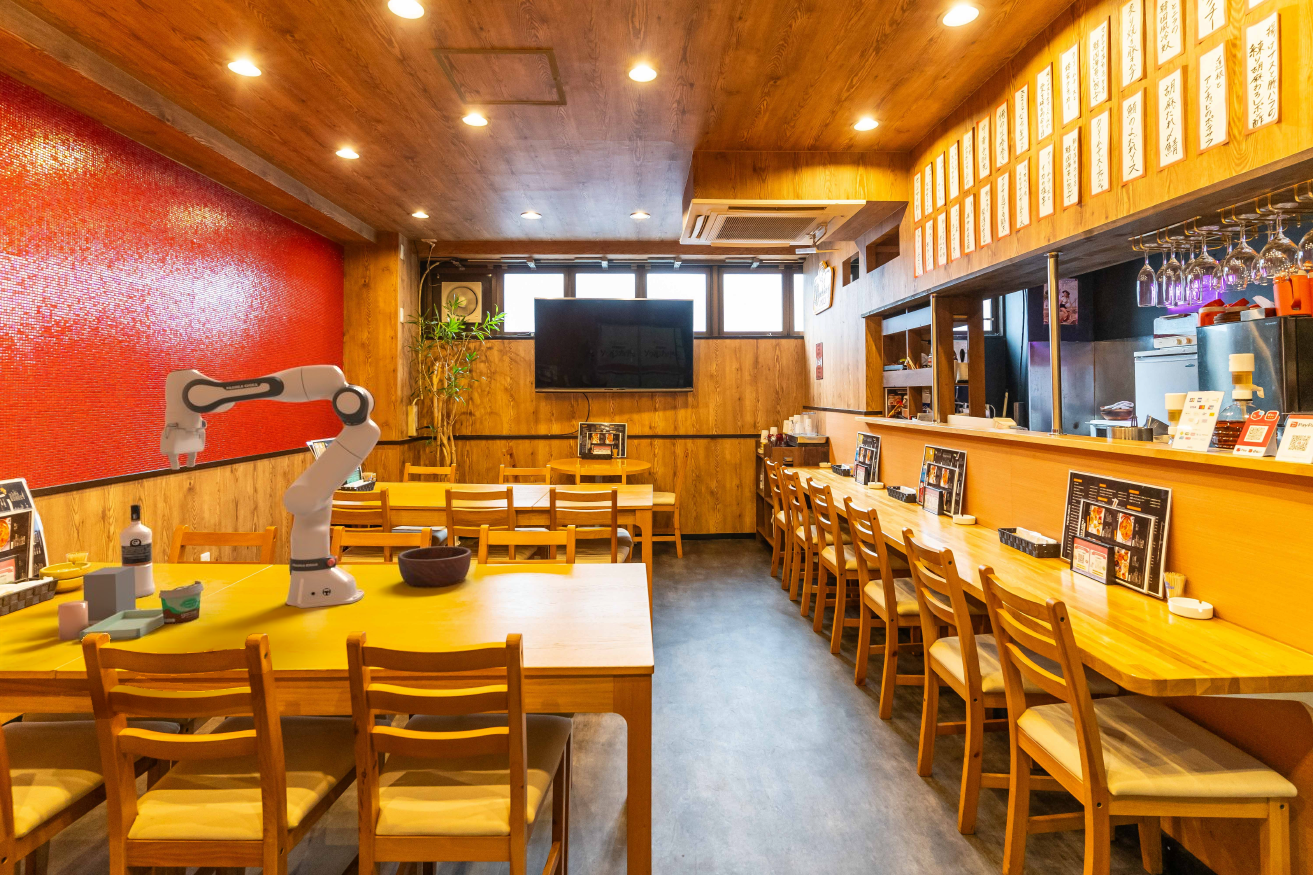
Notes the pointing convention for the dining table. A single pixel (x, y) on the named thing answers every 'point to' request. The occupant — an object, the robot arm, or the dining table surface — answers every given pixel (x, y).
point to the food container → (181, 603)
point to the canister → (72, 619)
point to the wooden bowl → (434, 566)
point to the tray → (128, 624)
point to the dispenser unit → (109, 592)
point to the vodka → (138, 553)
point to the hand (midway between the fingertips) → (183, 468)
